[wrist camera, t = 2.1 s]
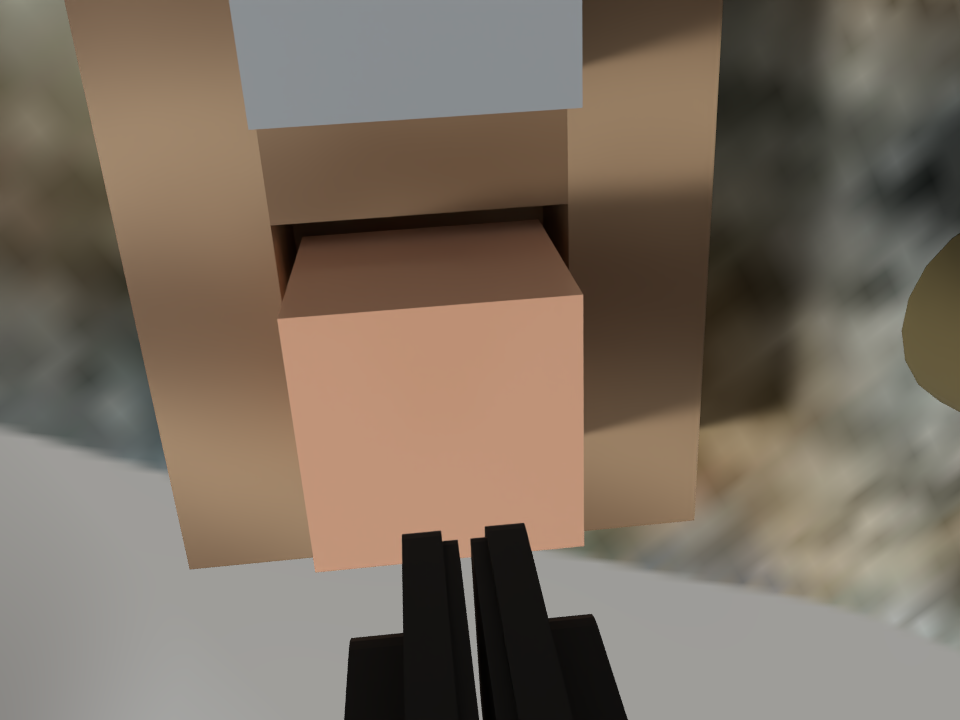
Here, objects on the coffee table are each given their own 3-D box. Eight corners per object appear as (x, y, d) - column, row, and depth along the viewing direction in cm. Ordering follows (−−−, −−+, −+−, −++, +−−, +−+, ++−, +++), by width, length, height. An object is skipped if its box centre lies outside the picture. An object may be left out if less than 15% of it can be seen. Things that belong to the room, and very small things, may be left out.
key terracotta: (302, 236, 19) (277, 319, 15) (538, 219, 19) (583, 294, 15) (330, 445, 21) (315, 572, 17) (543, 426, 21) (584, 546, 17)
